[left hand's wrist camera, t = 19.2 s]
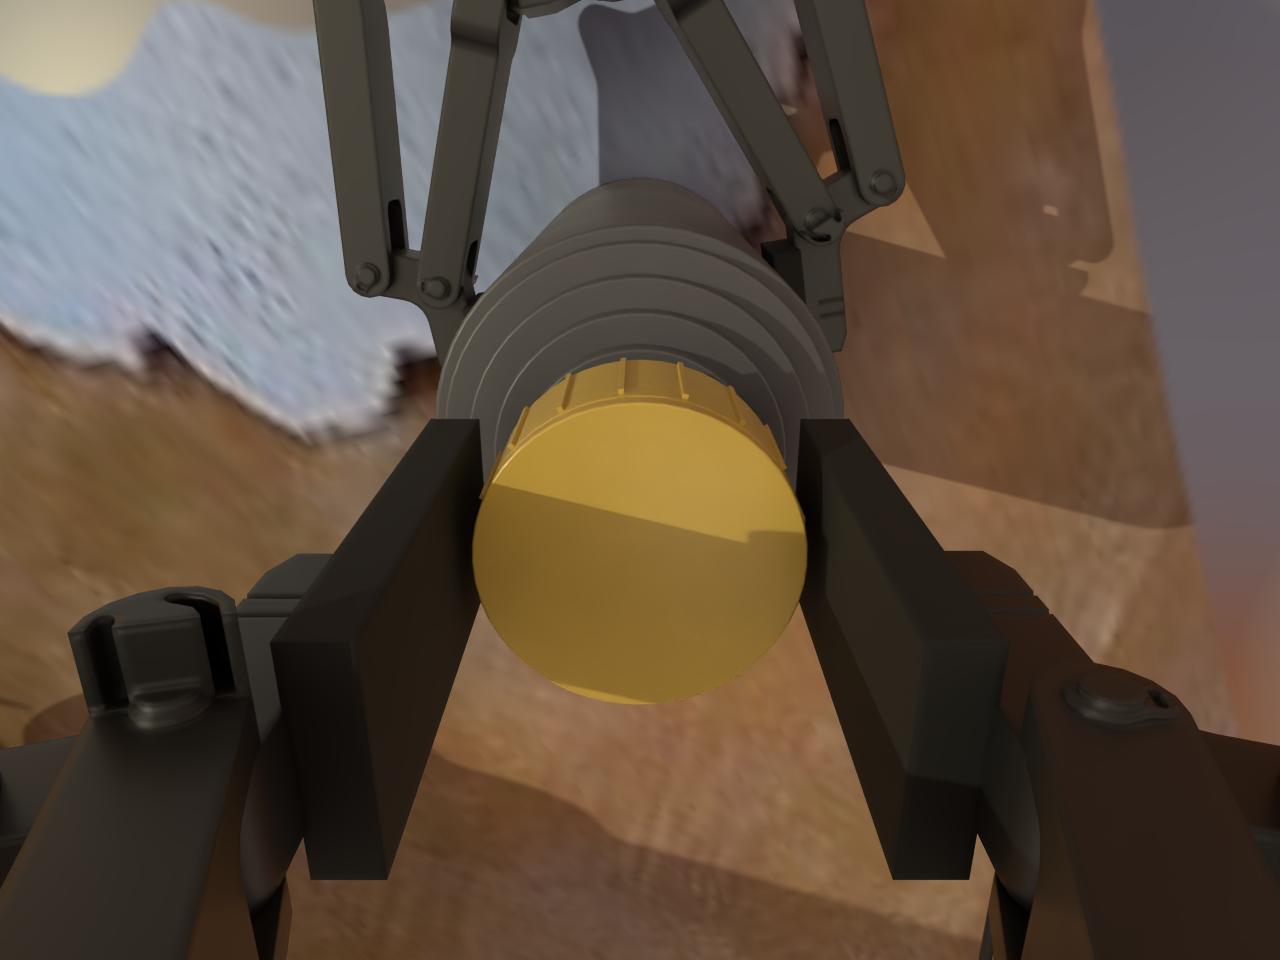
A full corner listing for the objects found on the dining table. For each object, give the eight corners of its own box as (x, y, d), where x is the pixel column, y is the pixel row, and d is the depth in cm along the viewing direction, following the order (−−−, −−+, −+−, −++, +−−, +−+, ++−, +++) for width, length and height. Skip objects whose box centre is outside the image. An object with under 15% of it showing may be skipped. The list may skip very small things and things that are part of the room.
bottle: (775, 206, 31) (1000, 335, 12) (719, 419, 34) (825, 806, 15) (551, 154, 30) (396, 199, 11) (513, 375, 33) (336, 719, 14)
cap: (564, 661, 16) (551, 748, 13) (443, 420, 14) (405, 475, 12) (822, 571, 15) (853, 647, 13) (725, 308, 13) (742, 344, 11)
